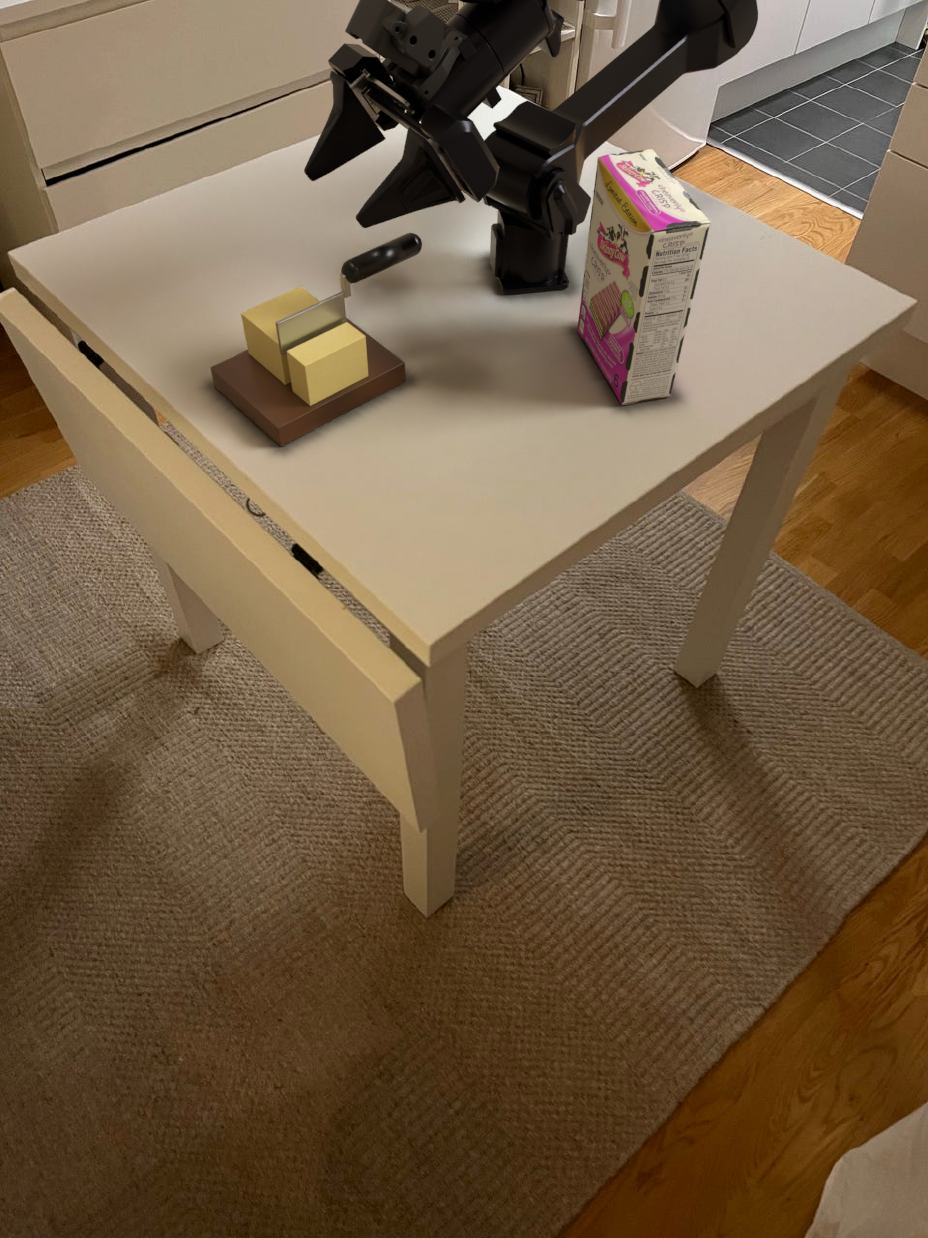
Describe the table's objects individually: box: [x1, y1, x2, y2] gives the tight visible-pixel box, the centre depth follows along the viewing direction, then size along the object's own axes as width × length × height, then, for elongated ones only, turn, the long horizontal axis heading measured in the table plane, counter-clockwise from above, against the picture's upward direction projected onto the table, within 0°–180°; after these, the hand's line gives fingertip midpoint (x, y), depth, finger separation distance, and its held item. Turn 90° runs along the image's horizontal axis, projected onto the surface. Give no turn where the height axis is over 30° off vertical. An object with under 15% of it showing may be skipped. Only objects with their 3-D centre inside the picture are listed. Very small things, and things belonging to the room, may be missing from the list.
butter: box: [240, 286, 368, 406], centre depth 80 cm, size 6×9×4 cm, turn 41°
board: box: [209, 317, 407, 448], centre depth 82 cm, size 13×10×2 cm
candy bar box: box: [576, 148, 712, 406], centre depth 79 cm, size 11×5×16 cm, turn 17°
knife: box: [275, 232, 423, 356], centre depth 77 cm, size 14×2×5 cm, turn 131°
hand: (332, 198), depth 75 cm, fingers open, 9 cm apart
